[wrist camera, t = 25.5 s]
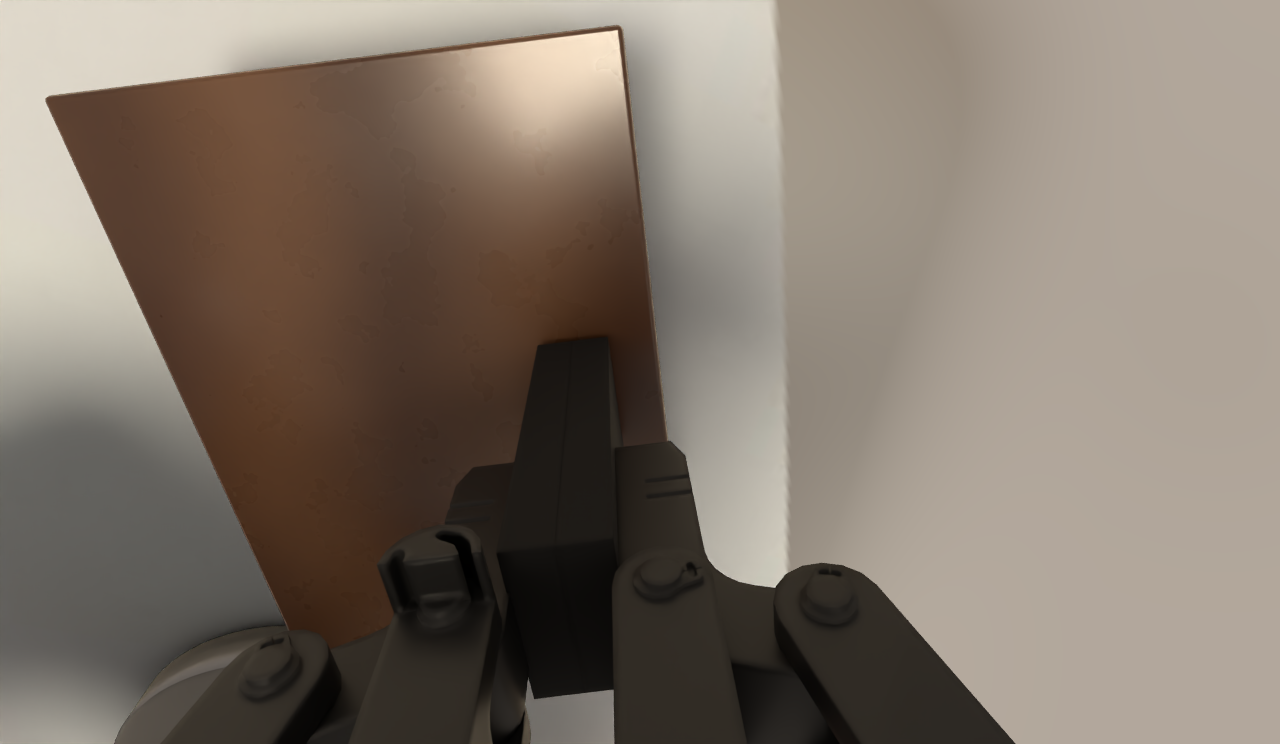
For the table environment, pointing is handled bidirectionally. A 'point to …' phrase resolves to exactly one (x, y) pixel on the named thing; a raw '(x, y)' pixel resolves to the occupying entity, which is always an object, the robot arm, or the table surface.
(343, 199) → the lid
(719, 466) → the table surface
